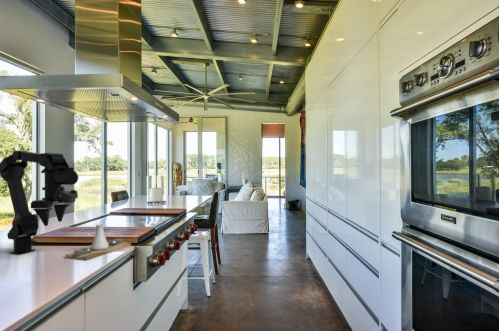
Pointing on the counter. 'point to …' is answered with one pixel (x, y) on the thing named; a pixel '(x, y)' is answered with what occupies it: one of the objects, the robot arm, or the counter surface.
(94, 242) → the flask
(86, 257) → the tan board
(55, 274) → the counter surface
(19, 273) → the counter surface
